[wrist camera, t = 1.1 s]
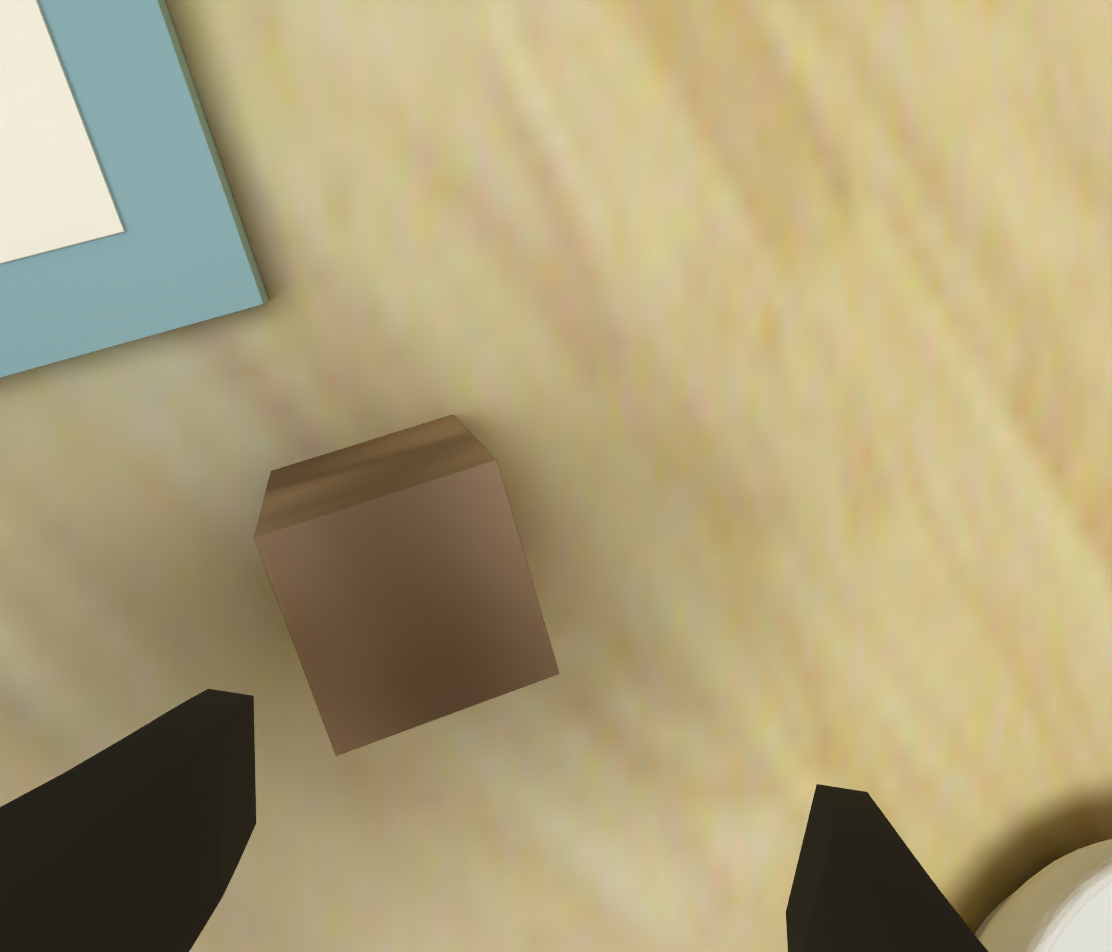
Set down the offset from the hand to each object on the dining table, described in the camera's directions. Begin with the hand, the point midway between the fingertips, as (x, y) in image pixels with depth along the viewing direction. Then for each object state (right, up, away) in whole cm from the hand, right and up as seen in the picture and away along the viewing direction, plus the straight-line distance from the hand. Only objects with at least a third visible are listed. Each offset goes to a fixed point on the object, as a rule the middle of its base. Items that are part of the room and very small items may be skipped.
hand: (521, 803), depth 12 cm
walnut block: (-4, +3, +11) cm, 12 cm away
